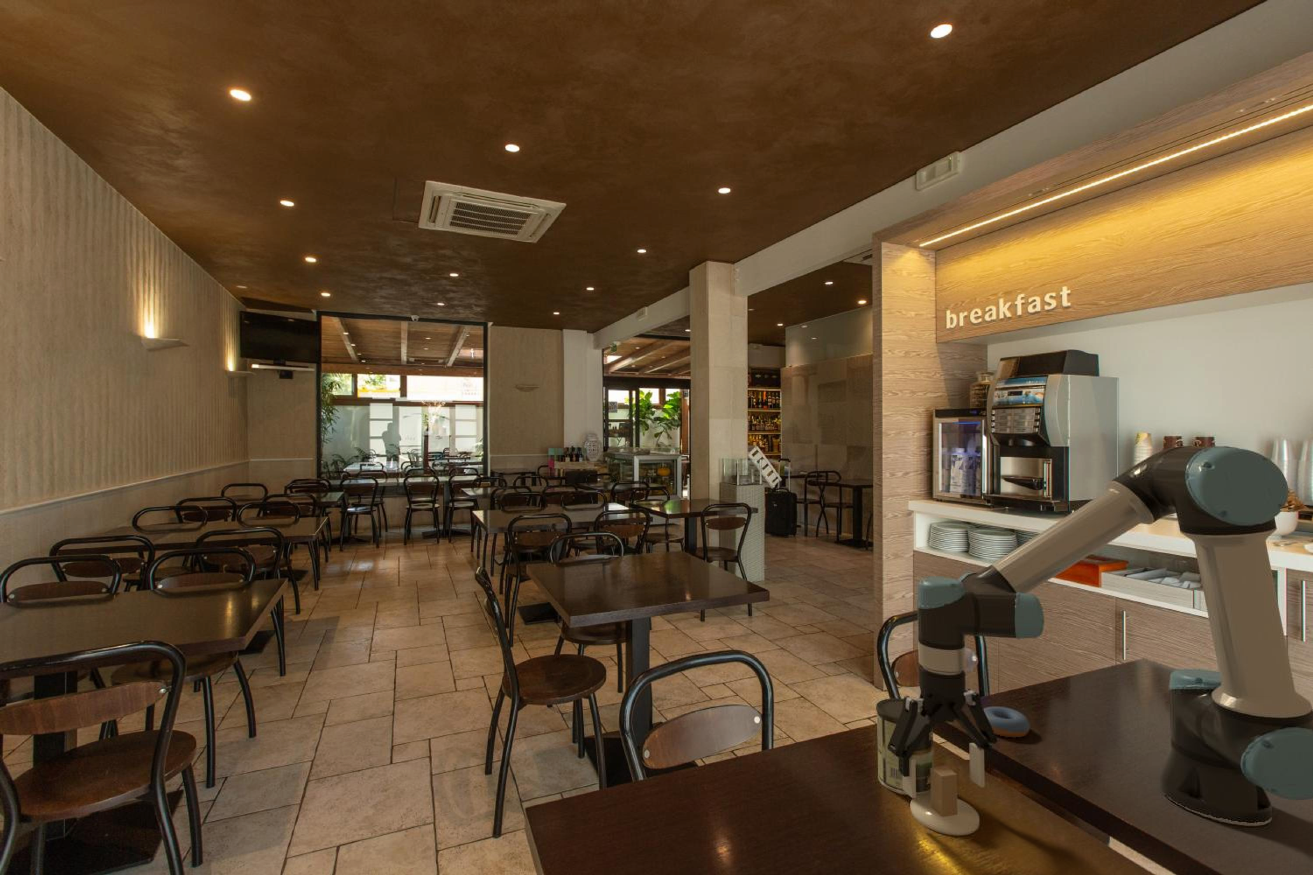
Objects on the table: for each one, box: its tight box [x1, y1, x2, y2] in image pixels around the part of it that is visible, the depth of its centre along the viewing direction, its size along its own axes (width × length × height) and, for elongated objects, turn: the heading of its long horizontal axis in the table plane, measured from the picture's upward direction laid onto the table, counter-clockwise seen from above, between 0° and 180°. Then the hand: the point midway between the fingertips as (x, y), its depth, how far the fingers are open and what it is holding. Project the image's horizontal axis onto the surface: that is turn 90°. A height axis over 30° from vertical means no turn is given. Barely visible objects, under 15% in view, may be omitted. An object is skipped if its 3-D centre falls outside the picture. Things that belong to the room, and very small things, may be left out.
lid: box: [909, 765, 980, 836], centre depth 109 cm, size 11×11×8 cm
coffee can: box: [875, 697, 935, 796], centre depth 120 cm, size 10×10×14 cm
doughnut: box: [983, 706, 1030, 739], centre depth 141 cm, size 10×10×5 cm
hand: (943, 788), depth 109 cm, fingers open, 13 cm apart
